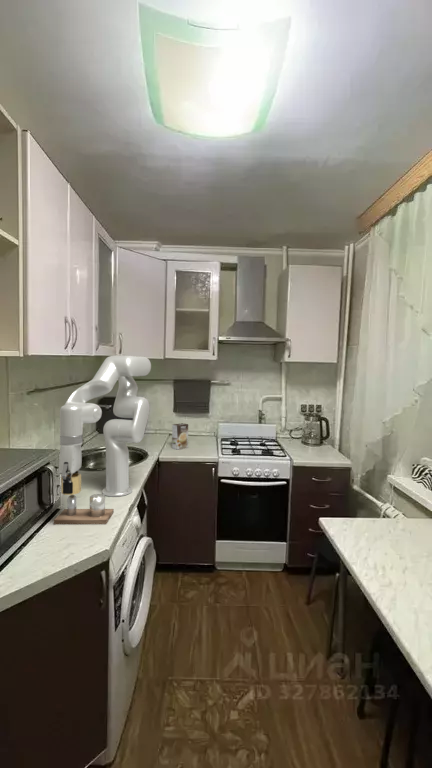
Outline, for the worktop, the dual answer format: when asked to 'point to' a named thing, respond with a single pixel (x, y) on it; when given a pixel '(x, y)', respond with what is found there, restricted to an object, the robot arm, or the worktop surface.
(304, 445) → the worktop surface
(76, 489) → the brass coupling
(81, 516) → the pipe board
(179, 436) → the coffee box
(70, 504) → the pair of light bulbs
